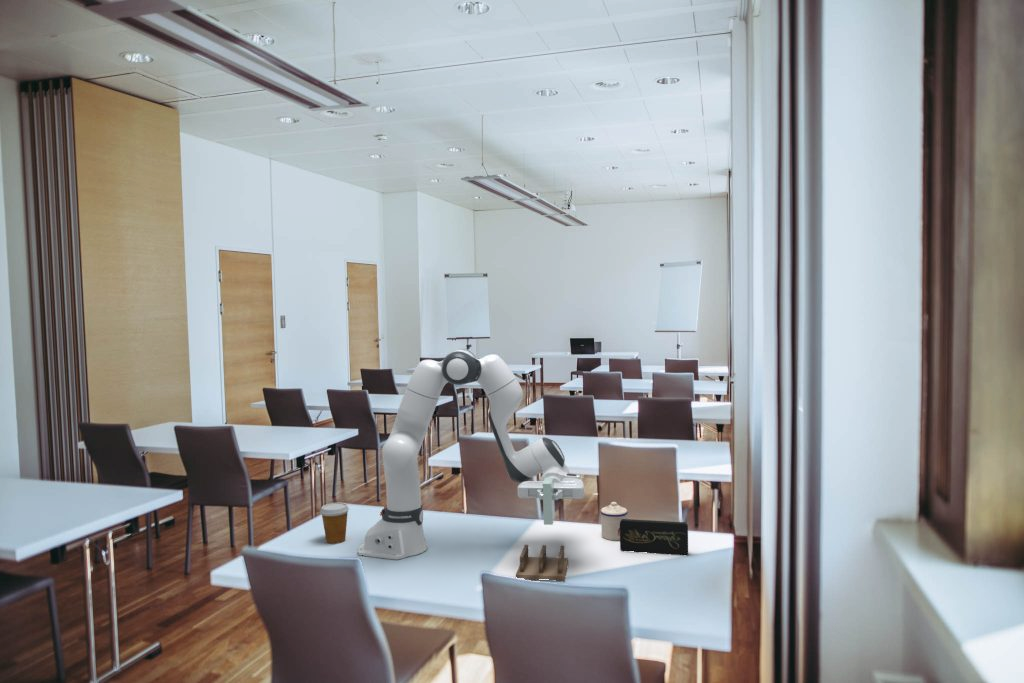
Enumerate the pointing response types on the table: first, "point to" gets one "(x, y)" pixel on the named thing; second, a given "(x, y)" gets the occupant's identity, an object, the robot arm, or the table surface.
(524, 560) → the slot rack
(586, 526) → the table surface
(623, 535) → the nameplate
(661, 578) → the table surface
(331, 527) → the disposable coffee cup
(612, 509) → the teacup with lid
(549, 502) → the pale green rectangular block
